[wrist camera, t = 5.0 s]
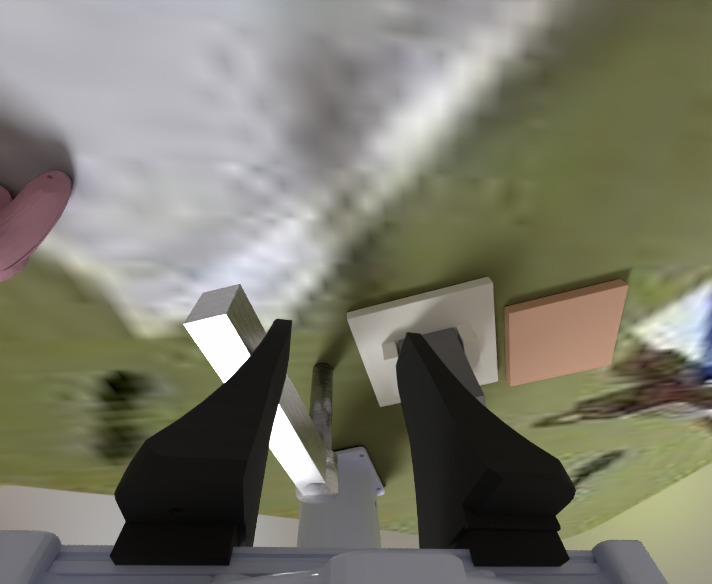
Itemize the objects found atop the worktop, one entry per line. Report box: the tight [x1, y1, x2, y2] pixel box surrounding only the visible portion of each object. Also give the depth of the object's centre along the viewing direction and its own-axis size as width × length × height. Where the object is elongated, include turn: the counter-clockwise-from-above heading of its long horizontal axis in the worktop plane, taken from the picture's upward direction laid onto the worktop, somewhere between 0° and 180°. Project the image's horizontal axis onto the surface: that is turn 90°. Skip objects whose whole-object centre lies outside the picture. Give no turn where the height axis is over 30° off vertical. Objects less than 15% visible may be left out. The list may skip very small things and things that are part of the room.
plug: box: [398, 327, 485, 406], centre depth 22 cm, size 4×4×6 cm
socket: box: [309, 277, 498, 451], centre depth 22 cm, size 10×14×7 cm
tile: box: [504, 279, 629, 386], centre depth 25 cm, size 8×8×1 cm
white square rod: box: [183, 284, 338, 504], centre depth 16 cm, size 2×14×2 cm, turn 14°
